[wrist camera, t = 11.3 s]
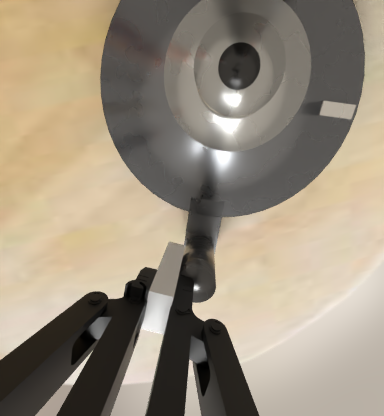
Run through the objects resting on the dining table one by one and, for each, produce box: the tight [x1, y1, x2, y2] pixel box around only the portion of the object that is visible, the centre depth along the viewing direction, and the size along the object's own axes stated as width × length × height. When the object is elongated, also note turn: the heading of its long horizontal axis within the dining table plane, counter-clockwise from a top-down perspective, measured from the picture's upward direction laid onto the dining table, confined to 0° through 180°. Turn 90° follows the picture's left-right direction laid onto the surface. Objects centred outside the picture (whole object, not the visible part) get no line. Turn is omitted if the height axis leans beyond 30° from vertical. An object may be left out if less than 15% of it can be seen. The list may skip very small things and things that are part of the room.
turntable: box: [100, 0, 365, 303], centre depth 15 cm, size 25×20×7 cm
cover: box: [164, 0, 311, 152], centre depth 13 cm, size 8×8×7 cm
